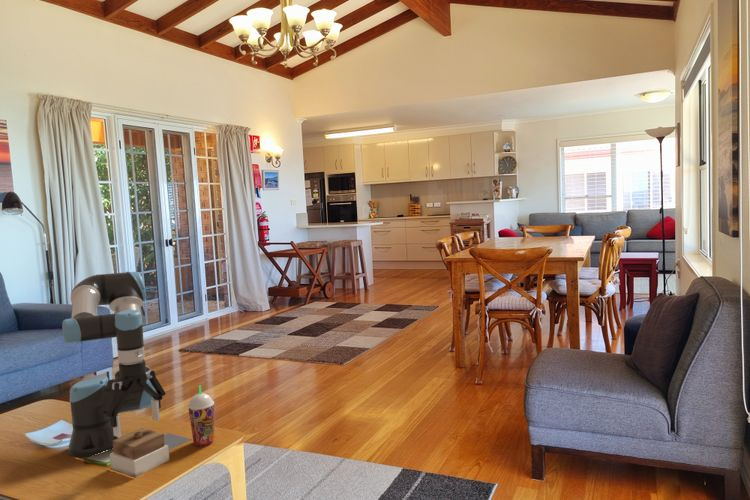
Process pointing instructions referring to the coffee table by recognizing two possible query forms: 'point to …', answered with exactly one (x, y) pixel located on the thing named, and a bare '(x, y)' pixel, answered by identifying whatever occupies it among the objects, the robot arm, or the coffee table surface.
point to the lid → (138, 443)
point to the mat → (174, 440)
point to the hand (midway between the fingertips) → (137, 427)
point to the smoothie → (202, 418)
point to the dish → (139, 462)
